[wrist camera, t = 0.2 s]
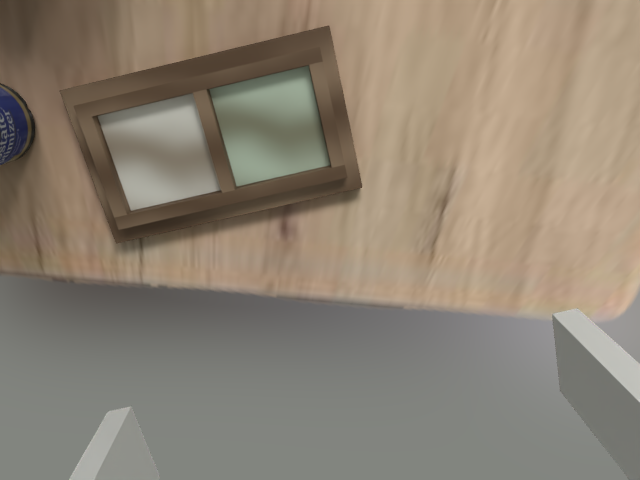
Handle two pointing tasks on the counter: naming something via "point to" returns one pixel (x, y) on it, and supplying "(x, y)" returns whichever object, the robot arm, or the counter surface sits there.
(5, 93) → the pill bottle
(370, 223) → the counter surface
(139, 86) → the divided wooden tray
